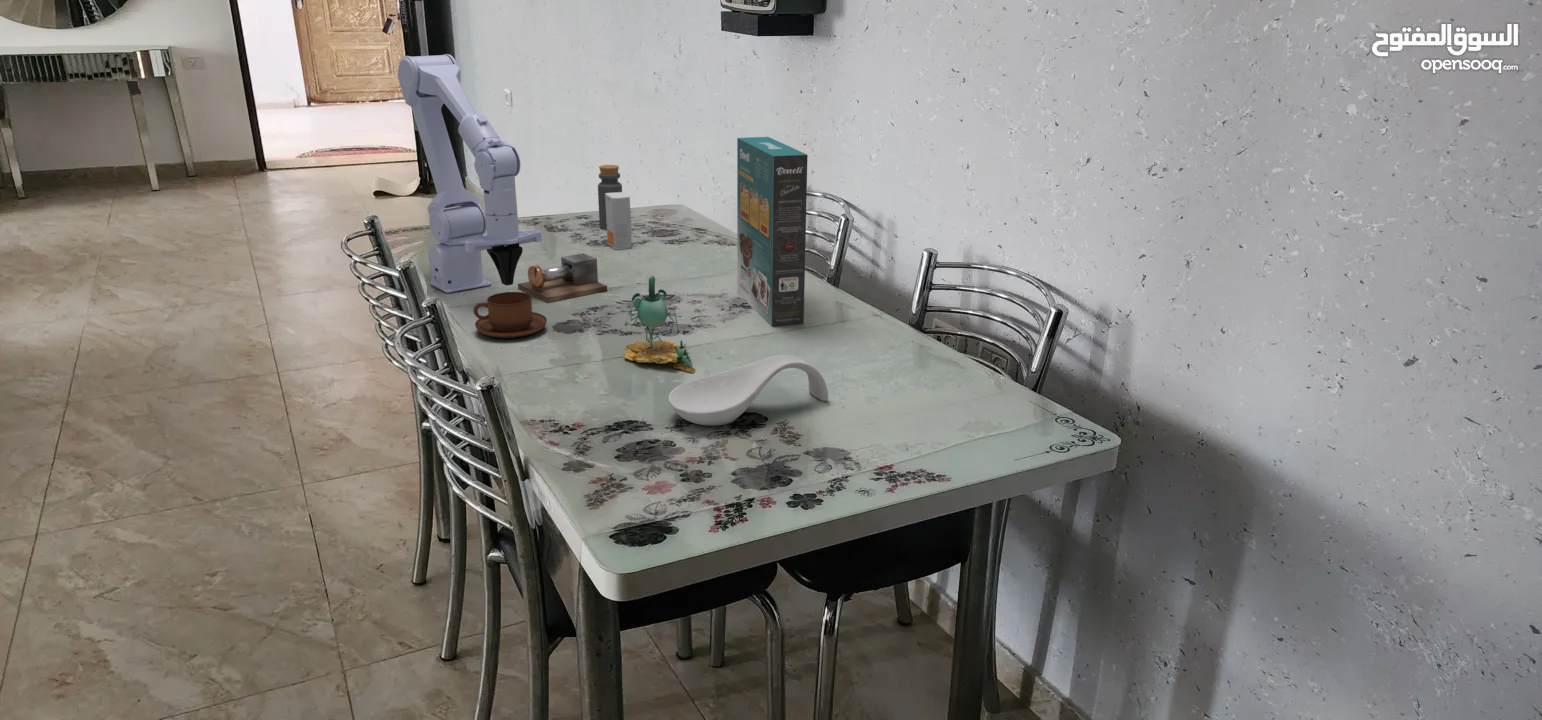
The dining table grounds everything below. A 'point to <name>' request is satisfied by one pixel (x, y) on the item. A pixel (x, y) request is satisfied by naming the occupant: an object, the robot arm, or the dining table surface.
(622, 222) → the skincare box
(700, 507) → the dining table surface
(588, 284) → the stand
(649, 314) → the teal creature figurine
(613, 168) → the bottle
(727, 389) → the spoon rest
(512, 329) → the cup and saucer
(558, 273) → the shaft
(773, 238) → the cake mix box
